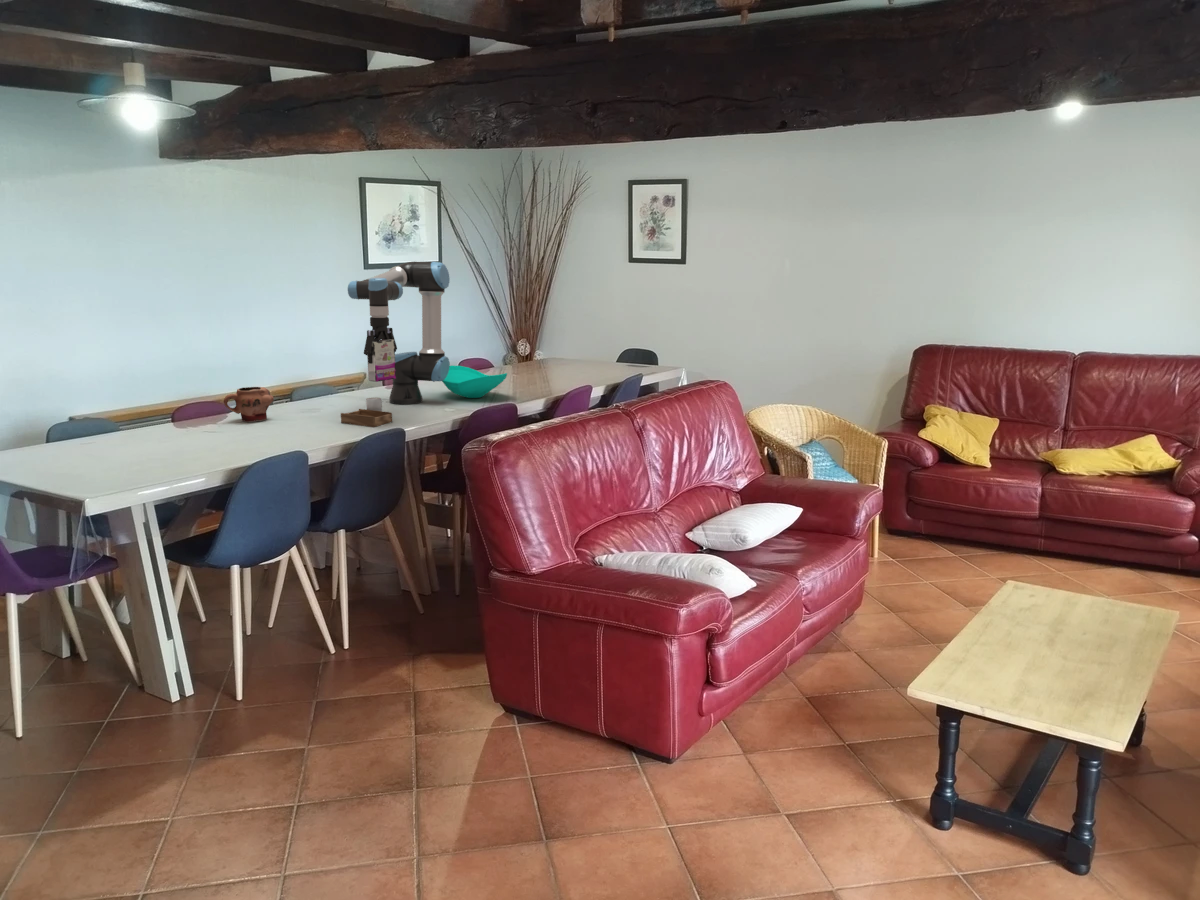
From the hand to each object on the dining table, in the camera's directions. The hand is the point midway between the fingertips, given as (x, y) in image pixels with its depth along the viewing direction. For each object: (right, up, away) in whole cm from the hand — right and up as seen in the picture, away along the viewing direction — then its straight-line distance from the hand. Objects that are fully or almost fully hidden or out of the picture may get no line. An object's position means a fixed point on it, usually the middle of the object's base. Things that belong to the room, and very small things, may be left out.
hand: (381, 369), depth 380 cm
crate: (-7, -22, +4) cm, 23 cm away
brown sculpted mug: (-56, -21, +4) cm, 60 cm away
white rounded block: (-7, -19, +16) cm, 26 cm away
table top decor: (+29, -8, +66) cm, 73 cm away
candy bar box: (0, -4, +1) cm, 5 cm away
